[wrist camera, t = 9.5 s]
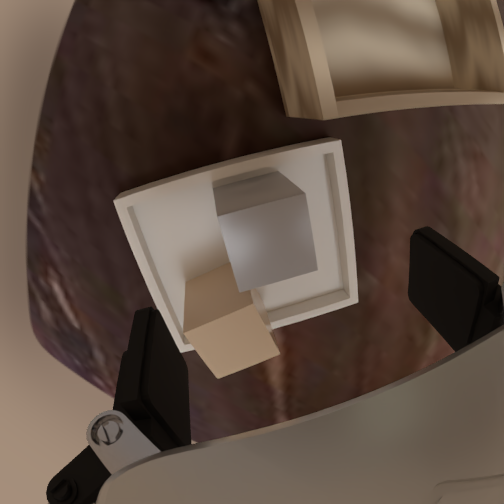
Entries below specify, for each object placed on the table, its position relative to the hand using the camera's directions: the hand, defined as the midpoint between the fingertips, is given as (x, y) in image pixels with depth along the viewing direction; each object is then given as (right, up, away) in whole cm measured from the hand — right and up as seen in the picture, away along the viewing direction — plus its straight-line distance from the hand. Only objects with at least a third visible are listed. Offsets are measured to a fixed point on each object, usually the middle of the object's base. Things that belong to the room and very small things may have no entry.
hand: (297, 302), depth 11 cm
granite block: (-2, +5, +11) cm, 12 cm away
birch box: (+7, +18, +7) cm, 21 cm away
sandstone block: (-4, -1, +14) cm, 14 cm away
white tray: (-2, +2, +13) cm, 13 cm away
